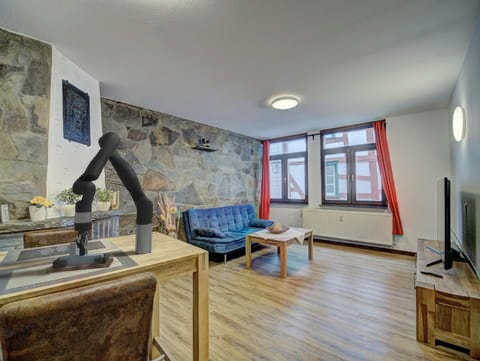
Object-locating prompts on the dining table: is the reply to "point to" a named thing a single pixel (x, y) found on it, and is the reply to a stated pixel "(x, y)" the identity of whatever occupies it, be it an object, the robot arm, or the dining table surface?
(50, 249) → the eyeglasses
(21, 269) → the dining table surface
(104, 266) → the endcap board
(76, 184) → the robot arm
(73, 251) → the medicine box
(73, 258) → the grey long block
